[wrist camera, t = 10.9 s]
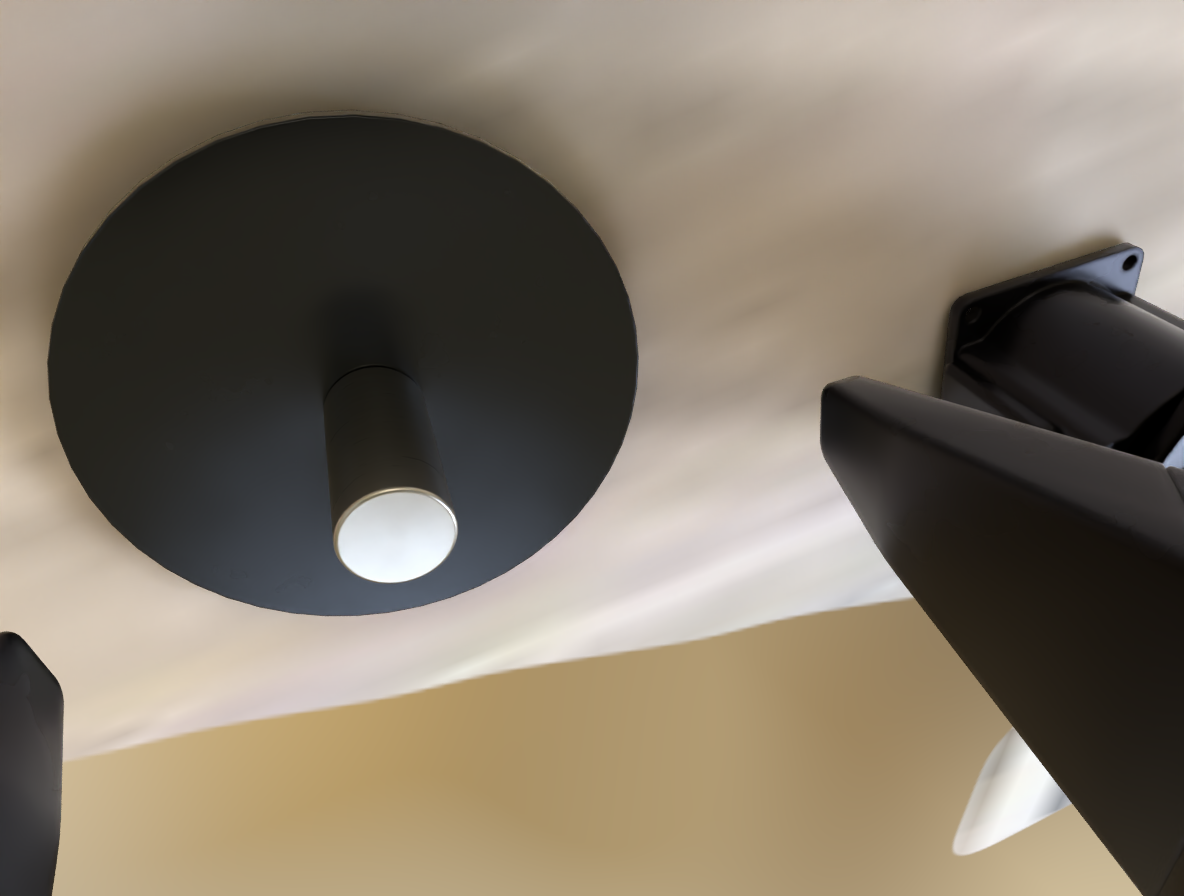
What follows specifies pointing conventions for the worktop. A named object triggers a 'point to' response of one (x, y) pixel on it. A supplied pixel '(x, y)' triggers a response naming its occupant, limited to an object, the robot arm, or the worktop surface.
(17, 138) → the worktop surface
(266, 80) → the worktop surface
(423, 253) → the tin lid
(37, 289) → the worktop surface
